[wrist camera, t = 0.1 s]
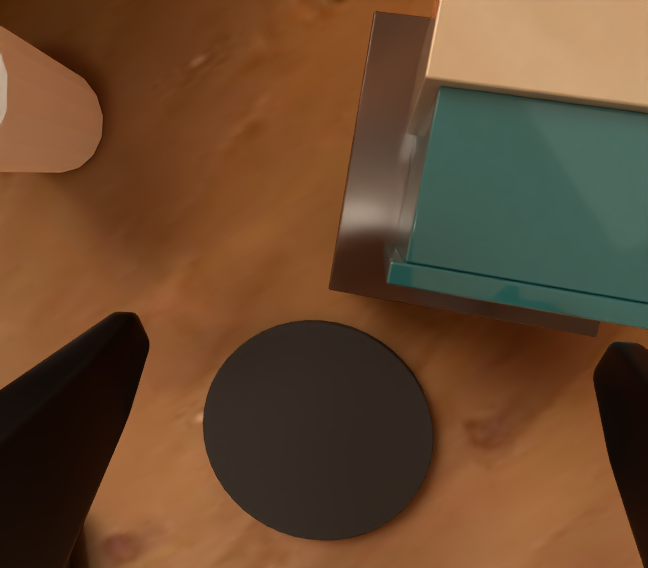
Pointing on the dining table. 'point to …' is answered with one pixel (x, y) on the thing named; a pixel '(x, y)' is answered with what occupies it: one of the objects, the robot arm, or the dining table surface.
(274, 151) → the dining table surface
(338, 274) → the stand
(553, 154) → the teal rimmed box
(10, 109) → the white cup
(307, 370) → the mat
